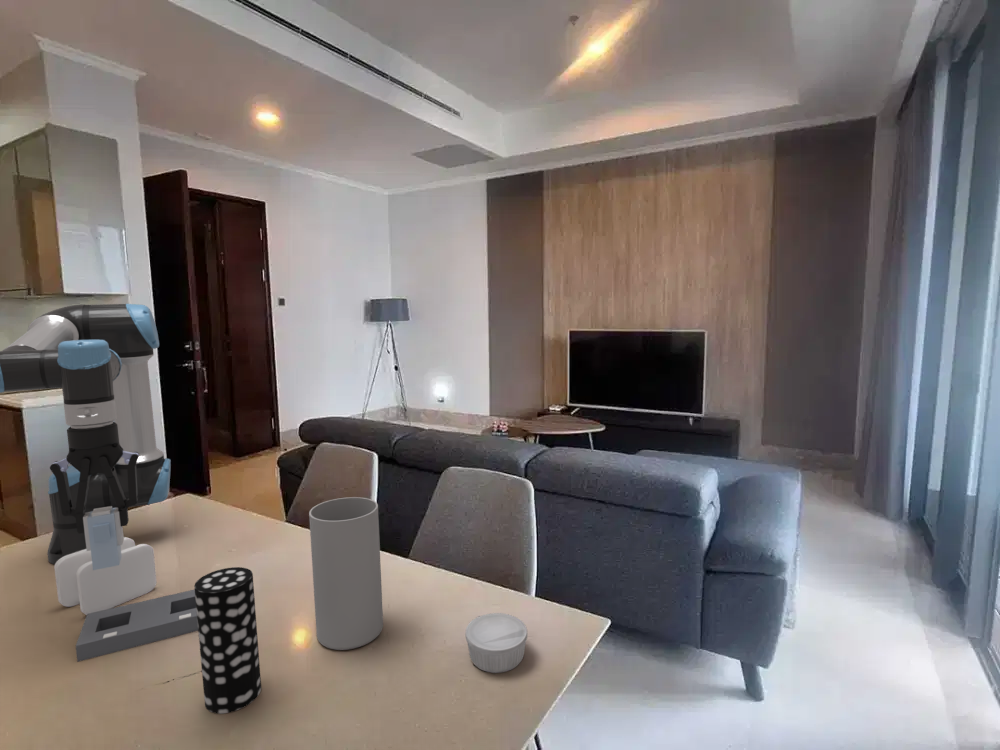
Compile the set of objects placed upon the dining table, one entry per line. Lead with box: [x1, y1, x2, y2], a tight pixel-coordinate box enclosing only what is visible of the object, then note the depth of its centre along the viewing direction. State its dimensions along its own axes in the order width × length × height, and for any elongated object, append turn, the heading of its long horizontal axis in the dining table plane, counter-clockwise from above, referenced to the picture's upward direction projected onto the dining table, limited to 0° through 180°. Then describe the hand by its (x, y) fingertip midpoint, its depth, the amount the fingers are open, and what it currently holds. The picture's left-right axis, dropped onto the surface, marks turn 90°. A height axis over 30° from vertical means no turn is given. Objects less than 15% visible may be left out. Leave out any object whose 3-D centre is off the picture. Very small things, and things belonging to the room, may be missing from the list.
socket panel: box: [75, 588, 198, 663], centre depth 109 cm, size 12×22×4 cm, turn 119°
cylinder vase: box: [308, 496, 384, 651], centre depth 105 cm, size 12×12×25 cm
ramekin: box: [464, 612, 529, 674], centre depth 98 cm, size 11×11×5 cm
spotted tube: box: [193, 566, 262, 714], centre depth 89 cm, size 8×8×20 cm
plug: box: [87, 506, 122, 570], centre depth 103 cm, size 5×4×11 cm
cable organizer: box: [53, 536, 158, 616], centre depth 119 cm, size 15×11×12 cm
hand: (105, 544), depth 104 cm, fingers closed on plug, 4 cm apart
